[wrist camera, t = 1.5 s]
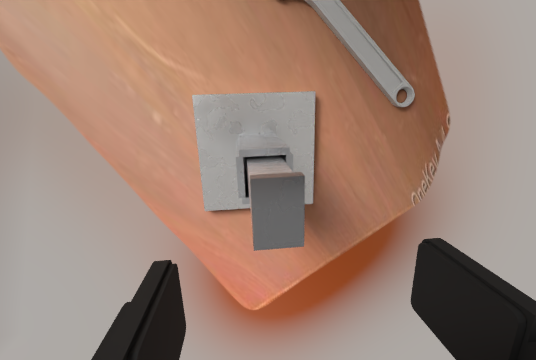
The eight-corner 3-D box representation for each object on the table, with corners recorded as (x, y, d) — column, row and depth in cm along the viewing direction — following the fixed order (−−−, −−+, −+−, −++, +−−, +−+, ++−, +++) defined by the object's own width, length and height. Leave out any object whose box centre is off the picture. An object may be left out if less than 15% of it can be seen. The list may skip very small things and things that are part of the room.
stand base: (194, 95, 31) (169, 92, 20) (311, 91, 32) (350, 87, 21) (206, 206, 35) (191, 255, 24) (310, 199, 36) (341, 242, 25)
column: (244, 136, 31) (250, 178, 14) (269, 135, 31) (304, 175, 14) (246, 172, 32) (254, 250, 15) (270, 170, 33) (304, 246, 16)
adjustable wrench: (411, 95, 34) (420, 95, 32) (373, 130, 35) (379, 132, 33) (284, -95, 27) (288, -108, 25) (239, -46, 28) (239, -55, 26)
